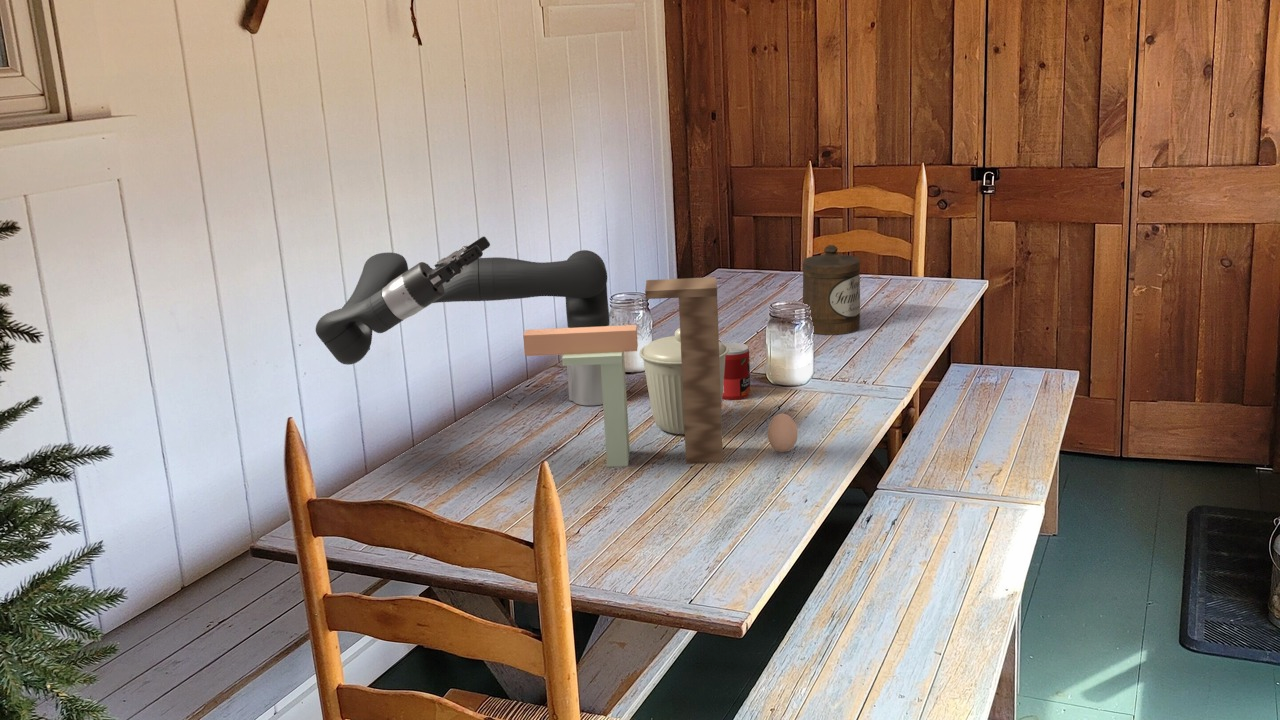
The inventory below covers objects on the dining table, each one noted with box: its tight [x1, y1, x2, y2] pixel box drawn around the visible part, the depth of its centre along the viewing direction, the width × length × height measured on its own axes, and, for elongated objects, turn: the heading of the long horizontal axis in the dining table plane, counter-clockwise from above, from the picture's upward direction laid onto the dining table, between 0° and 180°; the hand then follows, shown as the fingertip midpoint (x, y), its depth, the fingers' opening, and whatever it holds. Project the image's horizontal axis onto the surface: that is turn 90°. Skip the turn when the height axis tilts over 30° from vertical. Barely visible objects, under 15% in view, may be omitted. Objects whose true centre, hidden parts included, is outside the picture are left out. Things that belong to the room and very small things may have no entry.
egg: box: [767, 413, 799, 453], centre depth 231 cm, size 6×6×8 cm
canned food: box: [722, 342, 751, 401], centre depth 265 cm, size 8×8×11 cm
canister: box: [638, 327, 729, 435], centre depth 245 cm, size 18×18×21 cm
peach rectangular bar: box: [522, 324, 639, 357], centre depth 226 cm, size 21×4×4 cm, turn 89°
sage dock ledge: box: [561, 352, 631, 468], centre depth 230 cm, size 11×9×22 cm
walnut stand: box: [644, 276, 724, 465], centre depth 227 cm, size 13×9×34 cm
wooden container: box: [802, 244, 861, 336], centre depth 313 cm, size 15×15×22 cm
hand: (483, 245), depth 221 cm, fingers open, 8 cm apart
